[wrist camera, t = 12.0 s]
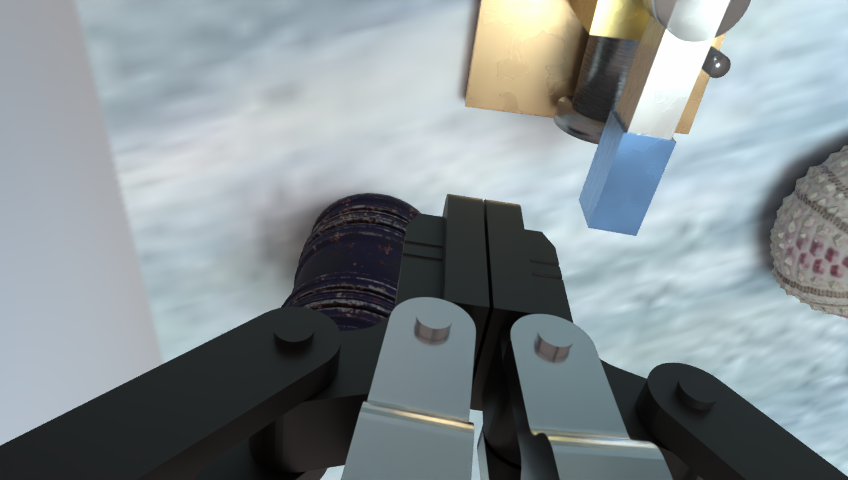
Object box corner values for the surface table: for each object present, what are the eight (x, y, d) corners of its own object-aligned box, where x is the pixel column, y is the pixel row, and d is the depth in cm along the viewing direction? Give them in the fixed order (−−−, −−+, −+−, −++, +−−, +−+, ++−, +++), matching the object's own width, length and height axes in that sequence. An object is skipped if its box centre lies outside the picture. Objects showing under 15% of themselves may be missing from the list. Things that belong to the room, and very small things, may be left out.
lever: (659, -72, 25) (680, -64, 23) (743, -55, 25) (772, -45, 23) (567, 197, 32) (576, 225, 30) (634, 209, 32) (648, 237, 30)
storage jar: (420, 314, 49) (406, 476, 36) (299, 285, 48) (242, 440, 35) (456, 211, 44) (455, 358, 31) (321, 175, 43) (263, 312, 30)
